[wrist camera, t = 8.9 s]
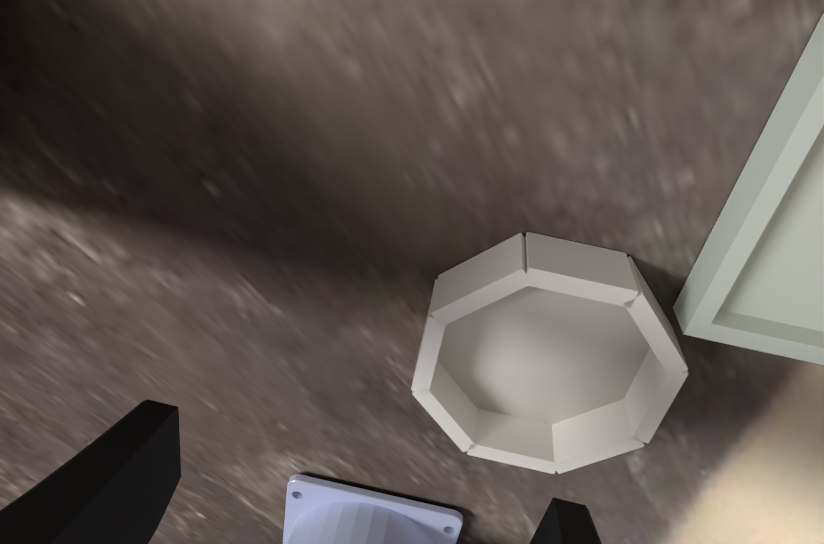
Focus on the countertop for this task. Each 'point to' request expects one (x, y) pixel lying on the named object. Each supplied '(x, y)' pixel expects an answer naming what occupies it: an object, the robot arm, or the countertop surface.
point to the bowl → (547, 355)
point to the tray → (770, 234)
